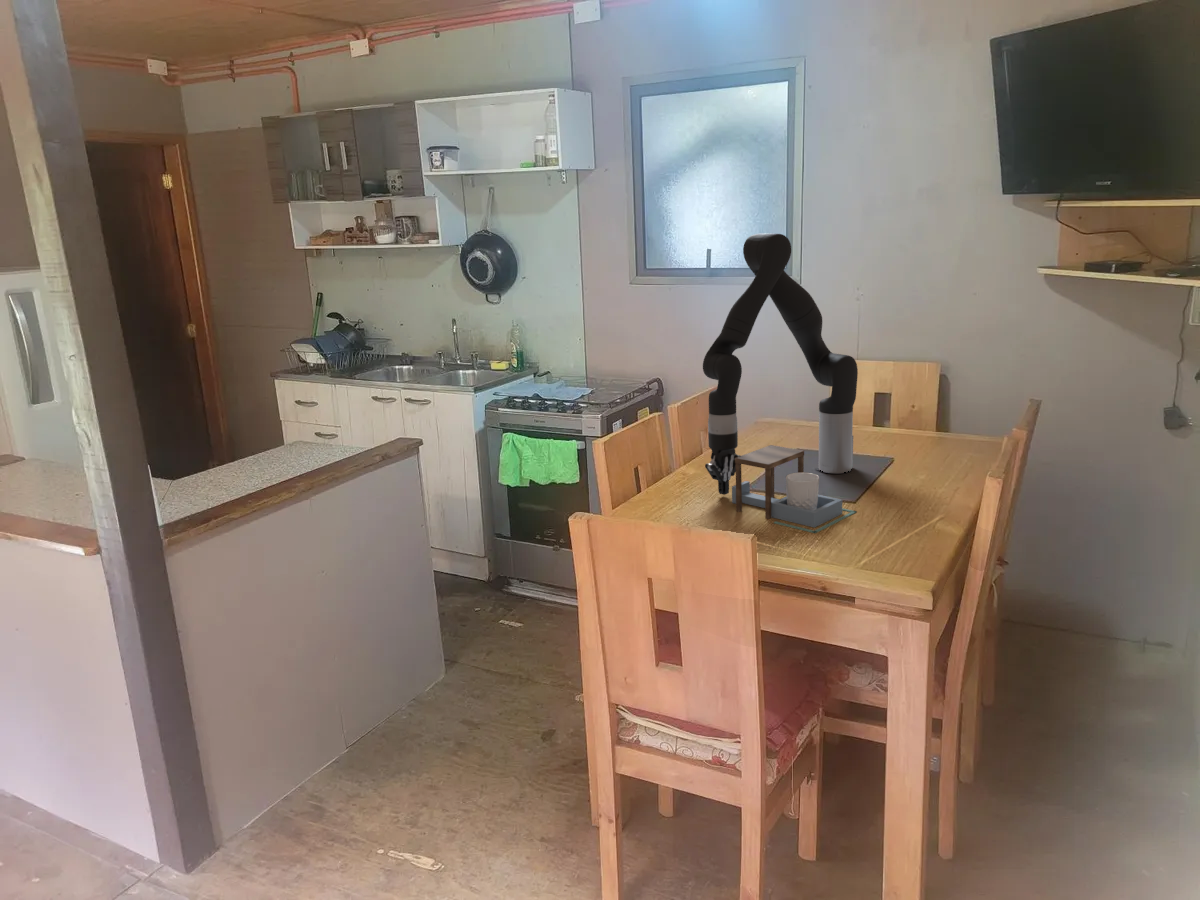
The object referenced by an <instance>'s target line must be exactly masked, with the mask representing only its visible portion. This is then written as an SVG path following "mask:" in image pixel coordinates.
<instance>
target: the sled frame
mask: <svg viewBox="0 0 1200 900" xmlns="http://www.w3.org/2000/svg"><path fill="white" fill-rule="evenodd" d="M750 489H751V483H750V481H748V480H744V481H742V504H744V505H745V504H746V505H751V506H754V507H758V508H764V509H765V495H761V494H757V493H753V492H751V490H750ZM731 503H732V504H735V505H736V484H735V485H733V486H731ZM842 508H843V499H840V498H837V497H831V496H826V495H821V494H818V503H817V509H816V510H814V511H812V510H808V509H803V508H799V507H795V506H790V505H787V495H786V496H784V497H782V498H780V499H779V498H776V497H773V498H771V518H773V519H778V520H782V521H786V522H790V523H794V524H798V525H802V526H806V527H812V528H816V527H818V526H820V525H823V524H825V523H826V522H829V521H831V520H832V519H835V518H837V517H839V516H841V515H843V510H842Z"/></svg>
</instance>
